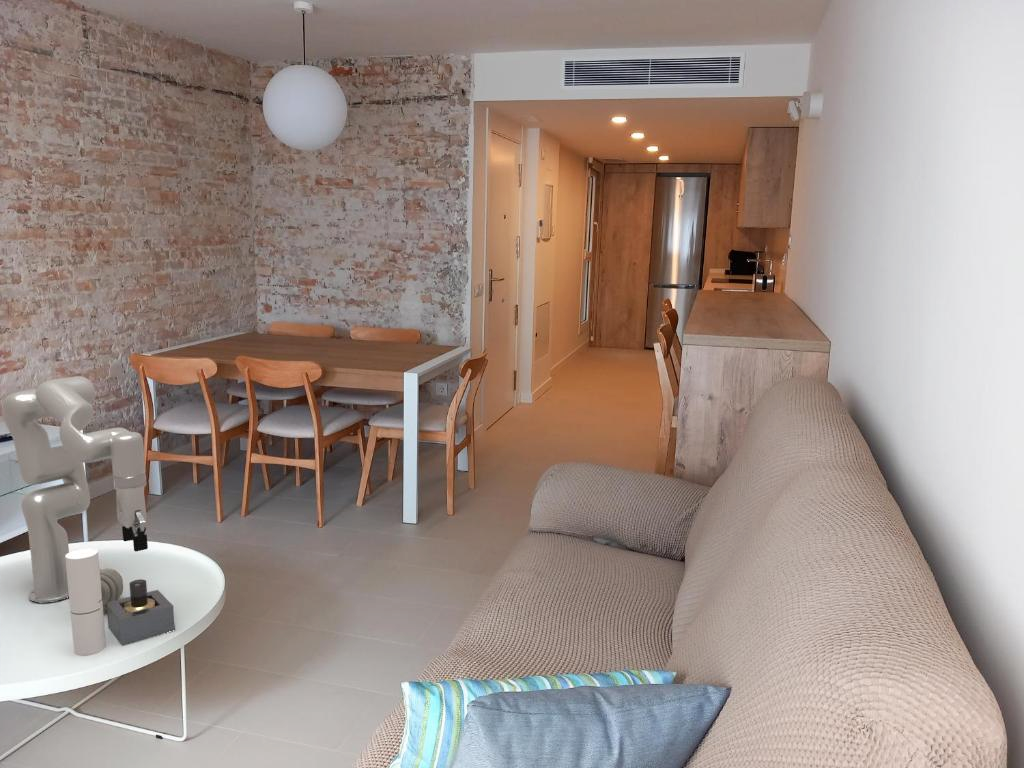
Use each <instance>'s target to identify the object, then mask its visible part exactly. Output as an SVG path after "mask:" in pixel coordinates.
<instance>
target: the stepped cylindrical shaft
mask: <svg viewBox="0 0 1024 768" xmlns="http://www.w3.org/2000/svg"><path fill="white" fill-rule="evenodd" d="M128 584H129V594H130V595H129V597H130V598H131V601H130V602H128V603H126V604H125V605H124V610H125V611H126V612H127V614H128V613H132V612H136V611H140V610H143V609H147V608H151V607H155V601H154V600H153V599H150V598H147V592H148V586H147V580H145V579H135V580H131V581H130V582H129V583H128Z"/></svg>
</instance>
